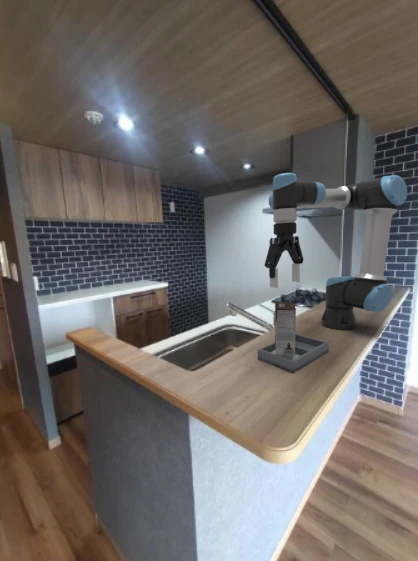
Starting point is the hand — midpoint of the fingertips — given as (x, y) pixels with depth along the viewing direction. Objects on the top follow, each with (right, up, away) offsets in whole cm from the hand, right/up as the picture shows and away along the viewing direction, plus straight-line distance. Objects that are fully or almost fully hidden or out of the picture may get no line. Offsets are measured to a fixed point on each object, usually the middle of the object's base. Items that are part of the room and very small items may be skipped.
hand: (285, 284), depth 92 cm
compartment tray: (+4, -25, +2) cm, 26 cm away
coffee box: (-1, -23, -2) cm, 23 cm away
